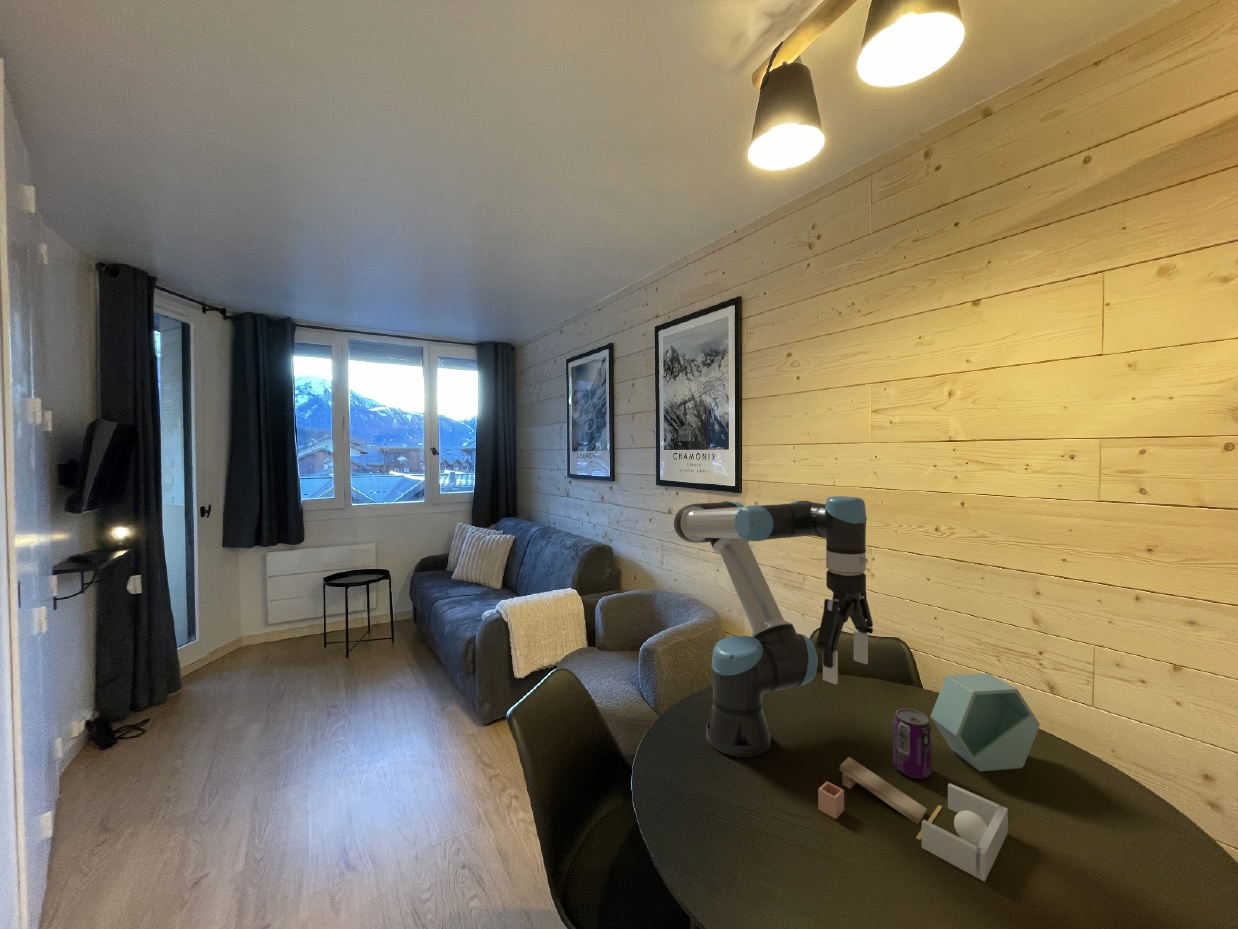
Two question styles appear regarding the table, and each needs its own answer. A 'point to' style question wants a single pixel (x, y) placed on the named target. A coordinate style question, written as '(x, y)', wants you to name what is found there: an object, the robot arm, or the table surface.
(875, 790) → the ramp
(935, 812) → the line
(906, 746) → the beverage can
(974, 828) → the ball
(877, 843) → the table surface
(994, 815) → the fence
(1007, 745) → the hexagonal wall shelf
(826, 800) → the salmon pink box
